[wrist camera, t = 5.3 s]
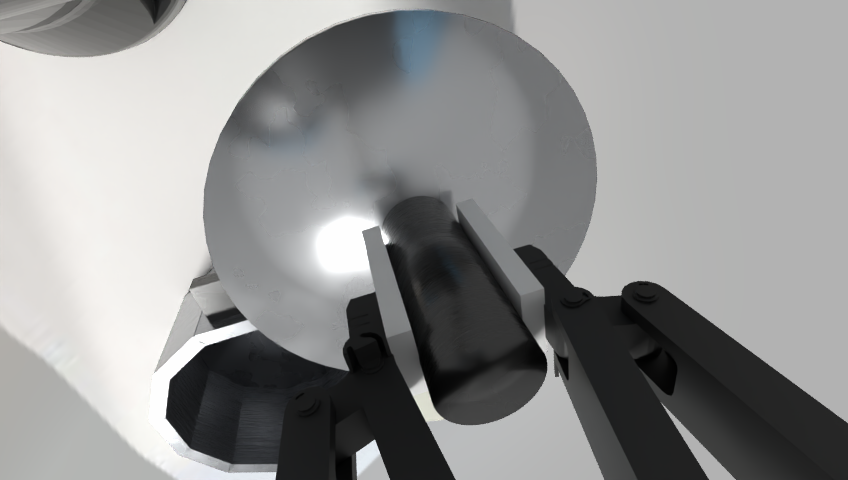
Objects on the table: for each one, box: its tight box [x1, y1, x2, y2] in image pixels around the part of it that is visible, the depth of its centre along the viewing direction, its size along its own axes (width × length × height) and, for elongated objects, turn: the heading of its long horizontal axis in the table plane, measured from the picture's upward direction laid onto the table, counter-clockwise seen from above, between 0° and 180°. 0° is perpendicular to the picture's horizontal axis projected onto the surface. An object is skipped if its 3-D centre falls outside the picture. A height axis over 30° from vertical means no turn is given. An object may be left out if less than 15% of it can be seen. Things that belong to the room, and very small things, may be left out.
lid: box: [203, 9, 597, 425], centre depth 16 cm, size 18×18×10 cm
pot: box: [149, 268, 349, 473], centre depth 37 cm, size 22×16×9 cm
